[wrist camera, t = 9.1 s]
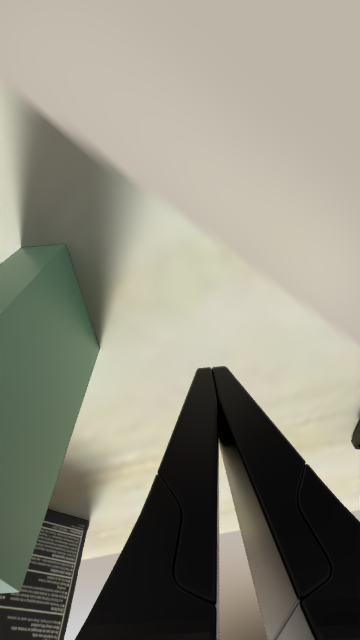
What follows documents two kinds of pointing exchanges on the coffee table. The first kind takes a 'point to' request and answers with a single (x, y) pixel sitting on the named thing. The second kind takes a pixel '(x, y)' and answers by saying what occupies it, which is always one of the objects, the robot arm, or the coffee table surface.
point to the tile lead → (37, 392)
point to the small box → (46, 583)
